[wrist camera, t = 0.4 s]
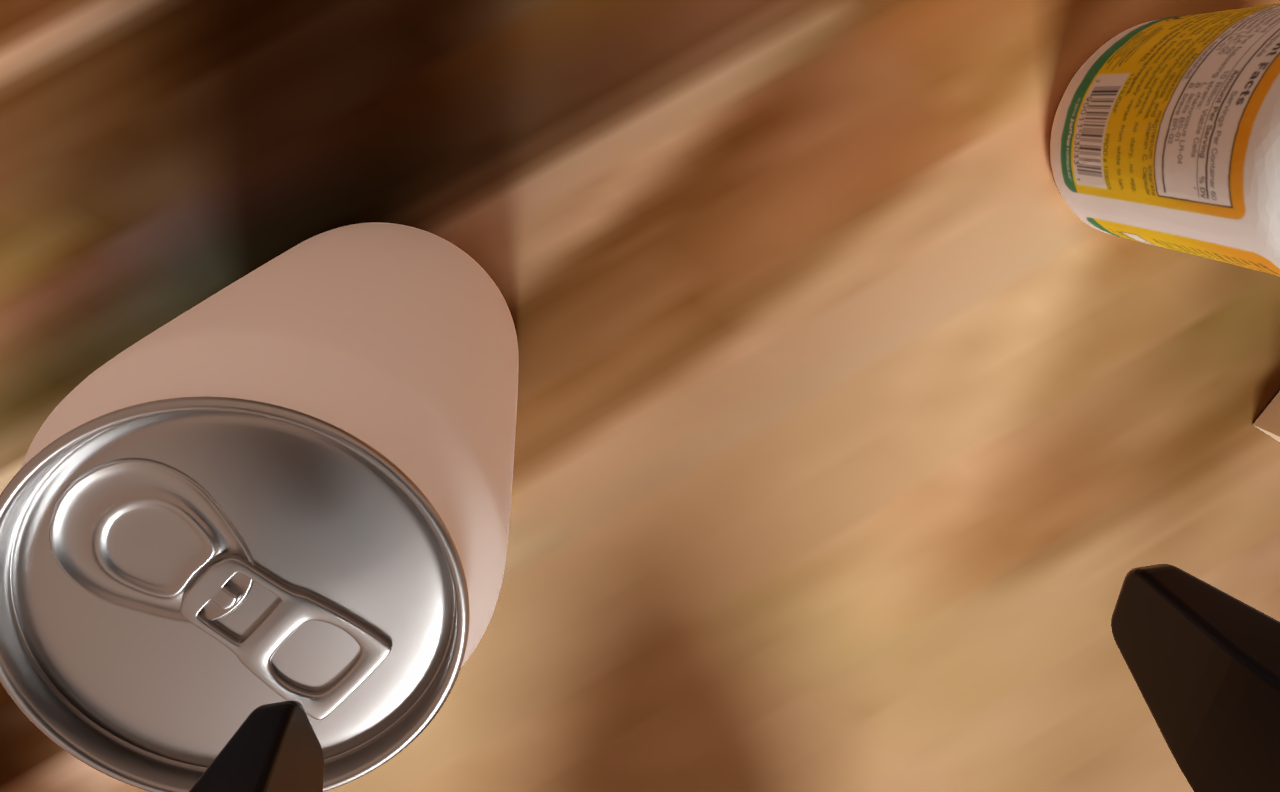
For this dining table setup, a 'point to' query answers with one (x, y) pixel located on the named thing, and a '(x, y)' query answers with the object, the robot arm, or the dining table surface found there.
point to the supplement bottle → (1179, 136)
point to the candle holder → (1270, 419)
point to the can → (269, 514)
